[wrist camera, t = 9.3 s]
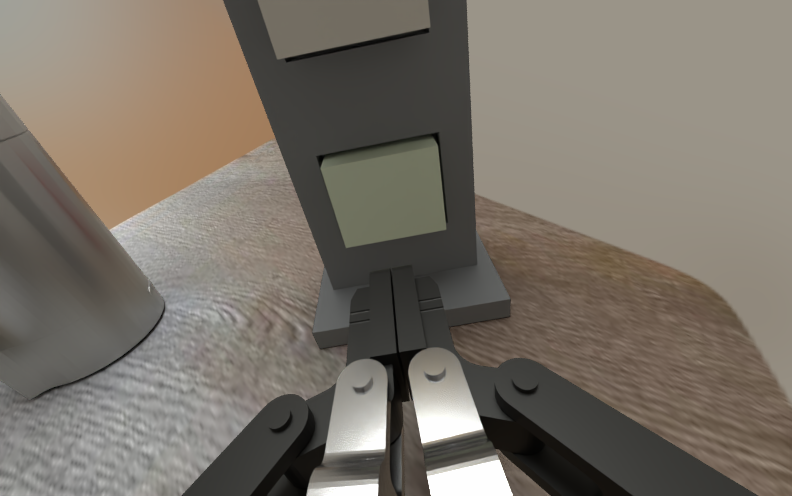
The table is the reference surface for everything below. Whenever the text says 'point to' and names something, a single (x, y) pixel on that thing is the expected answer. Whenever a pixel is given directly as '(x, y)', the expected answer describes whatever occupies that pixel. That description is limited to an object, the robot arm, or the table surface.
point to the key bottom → (386, 190)
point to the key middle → (337, 22)
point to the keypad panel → (373, 124)
